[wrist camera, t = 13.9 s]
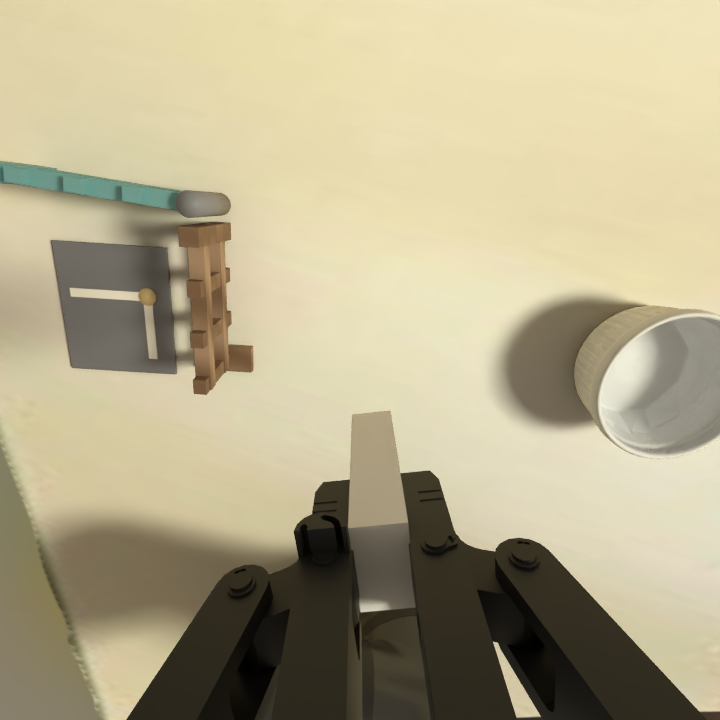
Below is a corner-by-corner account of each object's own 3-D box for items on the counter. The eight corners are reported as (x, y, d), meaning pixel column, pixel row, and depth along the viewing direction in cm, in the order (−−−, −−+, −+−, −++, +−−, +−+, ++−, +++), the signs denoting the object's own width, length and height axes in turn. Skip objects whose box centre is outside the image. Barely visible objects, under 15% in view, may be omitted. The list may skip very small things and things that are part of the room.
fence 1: (231, 194, 37) (200, 192, 30) (229, 216, 38) (199, 219, 31) (39, 163, 37) (-40, 153, 29) (41, 186, 37) (-36, 181, 30)
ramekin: (713, 390, 44) (775, 423, 37) (584, 443, 46) (622, 483, 39) (681, 270, 40) (744, 283, 33) (542, 334, 42) (575, 358, 35)
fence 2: (253, 369, 43) (229, 404, 36) (202, 366, 43) (167, 401, 35) (250, 224, 39) (223, 229, 31) (193, 220, 39) (152, 224, 31)
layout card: (176, 373, 43) (175, 374, 43) (73, 366, 43) (71, 368, 43) (167, 247, 39) (165, 248, 39) (53, 240, 39) (50, 240, 39)
